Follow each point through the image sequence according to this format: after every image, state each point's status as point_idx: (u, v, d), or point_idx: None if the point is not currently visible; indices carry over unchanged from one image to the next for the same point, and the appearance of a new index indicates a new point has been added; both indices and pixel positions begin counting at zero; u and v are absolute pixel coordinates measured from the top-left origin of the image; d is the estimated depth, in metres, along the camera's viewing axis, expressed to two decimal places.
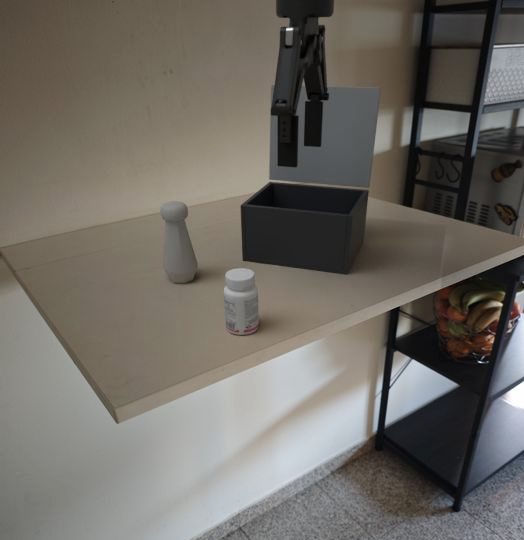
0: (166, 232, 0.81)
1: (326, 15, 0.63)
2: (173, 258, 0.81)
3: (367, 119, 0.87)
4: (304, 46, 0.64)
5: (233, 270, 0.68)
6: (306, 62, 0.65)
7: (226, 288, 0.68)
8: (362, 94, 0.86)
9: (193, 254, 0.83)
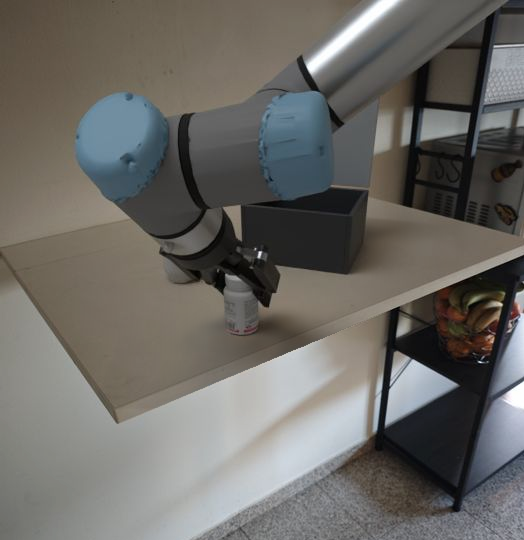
0: None
1: None
2: None
3: (367, 119, 0.87)
4: None
5: None
6: None
7: (226, 288, 0.68)
8: None
9: None
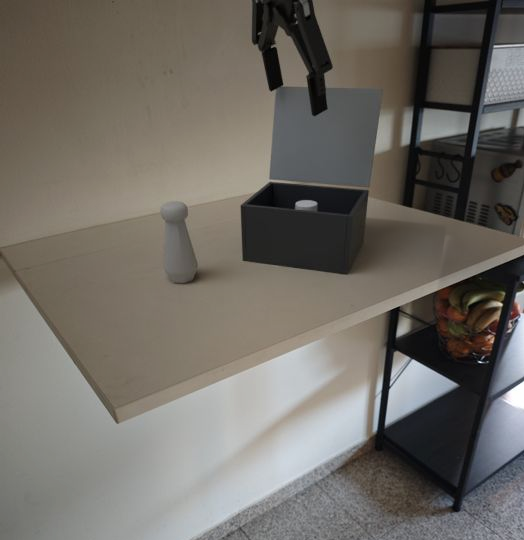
0: (166, 232, 0.81)
1: None
2: (173, 258, 0.81)
3: (369, 119, 0.89)
4: None
5: (300, 201, 0.91)
6: None
7: None
8: (365, 95, 0.88)
9: (193, 254, 0.83)
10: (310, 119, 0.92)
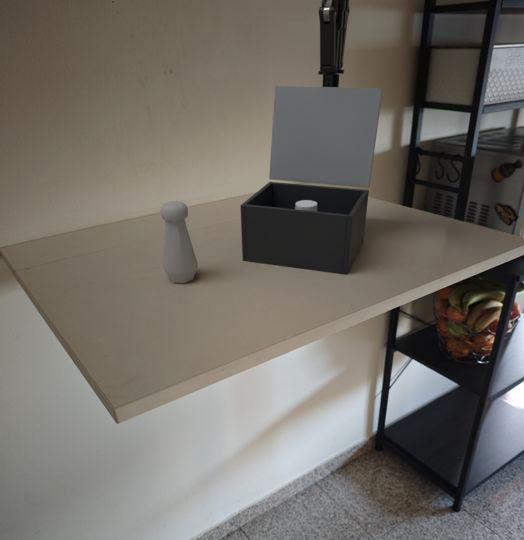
0: (166, 232, 0.81)
1: None
2: (173, 258, 0.81)
3: (368, 119, 0.88)
4: (336, 7, 0.82)
5: (300, 201, 0.91)
6: (340, 28, 0.85)
7: None
8: (364, 94, 0.87)
9: (193, 254, 0.83)
10: (310, 119, 0.92)
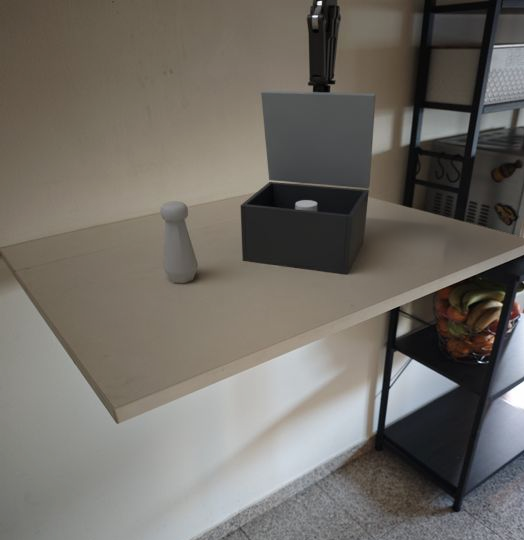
0: (166, 232, 0.81)
1: None
2: (173, 258, 0.81)
3: (363, 125, 0.84)
4: (326, 15, 0.77)
5: (300, 201, 0.91)
6: (330, 36, 0.80)
7: None
8: (356, 101, 0.82)
9: (193, 254, 0.83)
10: (302, 125, 0.88)
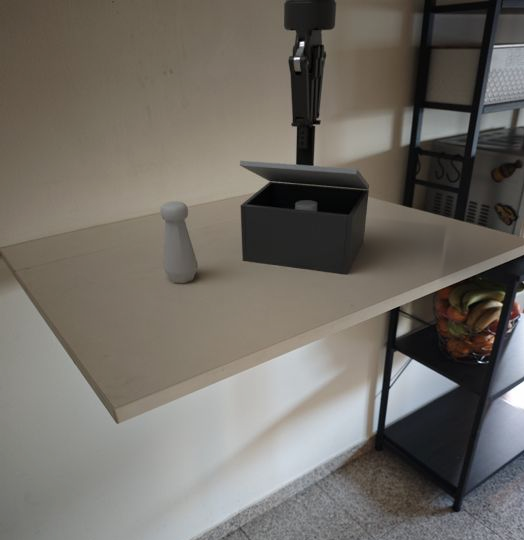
0: (166, 232, 0.81)
1: (328, 28, 0.72)
2: (173, 258, 0.81)
3: (351, 178, 0.82)
4: (309, 56, 0.73)
5: (300, 201, 0.91)
6: (314, 77, 0.75)
7: None
8: (339, 174, 0.79)
9: (193, 254, 0.83)
10: (289, 174, 0.86)
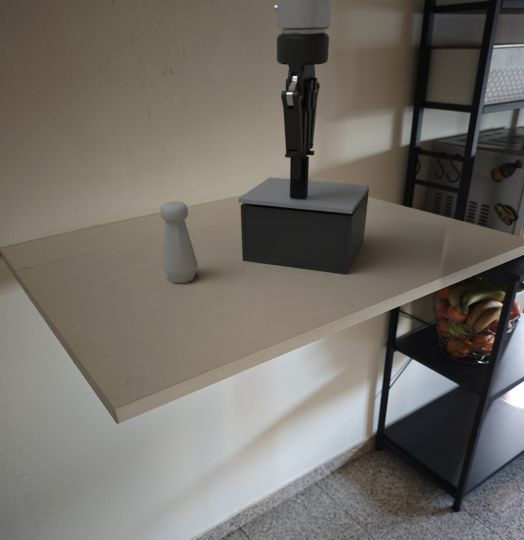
0: (166, 232, 0.81)
1: (321, 62, 0.71)
2: (173, 258, 0.81)
3: None
4: (301, 90, 0.72)
5: None
6: (307, 110, 0.75)
7: None
8: None
9: (193, 254, 0.83)
10: None
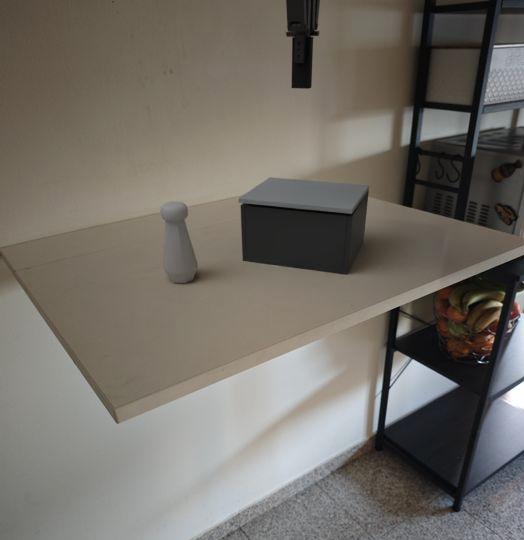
0: (166, 232, 0.81)
1: None
2: (173, 258, 0.81)
3: None
4: None
5: None
6: None
7: None
8: None
9: (193, 254, 0.83)
10: None
